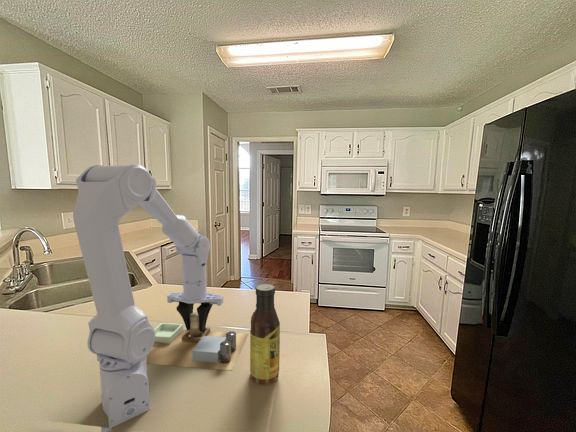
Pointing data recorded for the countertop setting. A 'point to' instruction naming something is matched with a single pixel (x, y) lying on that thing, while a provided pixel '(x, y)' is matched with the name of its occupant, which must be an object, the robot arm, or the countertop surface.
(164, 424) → the countertop surface
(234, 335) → the bench dogs
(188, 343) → the bench board
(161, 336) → the sage tray
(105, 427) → the robot arm
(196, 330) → the beech dowel
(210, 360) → the slate block
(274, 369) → the sauce bottle
